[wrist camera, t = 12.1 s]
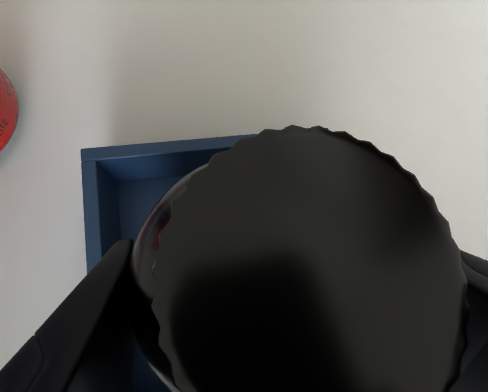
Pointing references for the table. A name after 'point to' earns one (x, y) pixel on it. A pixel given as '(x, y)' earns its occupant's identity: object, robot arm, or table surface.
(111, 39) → the table surface
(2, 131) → the soda can
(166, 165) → the desk bin
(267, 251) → the supplement bottle
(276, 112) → the table surface
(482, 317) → the robot arm
